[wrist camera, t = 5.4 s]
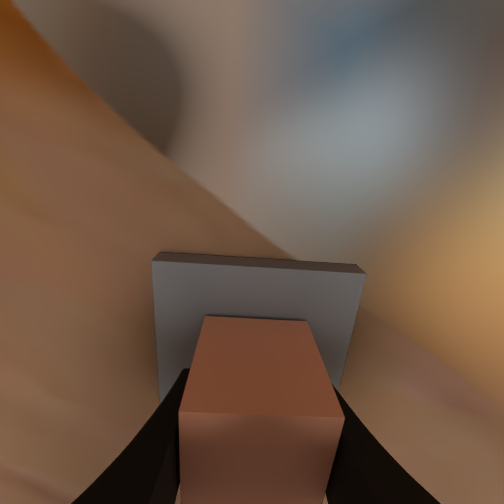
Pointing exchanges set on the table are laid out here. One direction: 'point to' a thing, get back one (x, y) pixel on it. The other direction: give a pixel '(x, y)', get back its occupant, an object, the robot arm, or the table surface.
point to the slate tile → (251, 303)
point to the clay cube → (257, 415)
